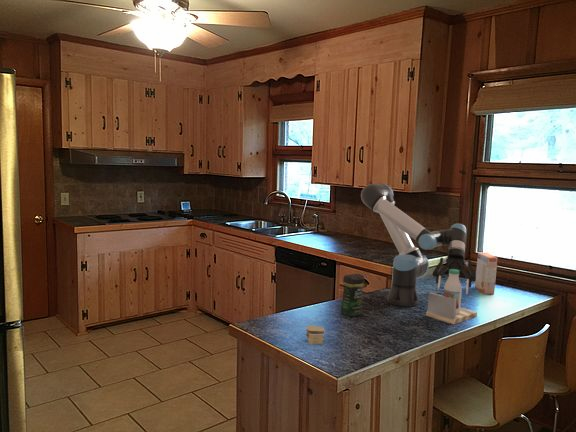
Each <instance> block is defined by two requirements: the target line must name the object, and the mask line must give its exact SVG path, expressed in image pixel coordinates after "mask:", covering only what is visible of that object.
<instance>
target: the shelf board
mask: <svg viewBox="0 0 576 432" xmlns="http://www.w3.org/2000/svg"><path fill="white" fill-rule="evenodd" d="M425 316H426V317H429V318H431V319H435V320H437V321H441V322H445V323H447V324H450V323H451V325H456V324H460V323H462V322H464V321H468V320H470V319H474V318H476V317H478V312H477V311H474V310H471V309H467V308H463V307H461V306H460V313H459V314H455V319H454V320H452V319H449V318H446V317H442V316H439V315H436V314H433V313H430V312H427V311H426V313H425ZM459 322H460V323H459Z"/></svg>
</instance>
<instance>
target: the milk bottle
mask: <svg viewBox="0 0 576 432" xmlns="http://www.w3.org/2000/svg"><path fill="white" fill-rule="evenodd" d="M460 272H461V271H460V269H458V270H457V269H451V268H450V269H449V270H448V276H447V277H448V278H447V279H446V280H445V281H446V282H445V283H444V287H443V296H446V297H450V298H453V299H457V301H456V312H455V314H459V313H460V307H461V301H462V284H461V282H460V278H459V277H460Z"/></svg>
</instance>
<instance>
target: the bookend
mask: <svg viewBox="0 0 576 432" xmlns="http://www.w3.org/2000/svg"><path fill="white" fill-rule="evenodd" d="M456 301H457V299H453V298H450V297H446V296H443V295H441V294H438V293H435V292H431V291H430V292H428V298H427V312H430V313H433V314H436V315H439V316H442V317H446V318H449V319H452V320H454V319H455V312H456Z"/></svg>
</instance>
